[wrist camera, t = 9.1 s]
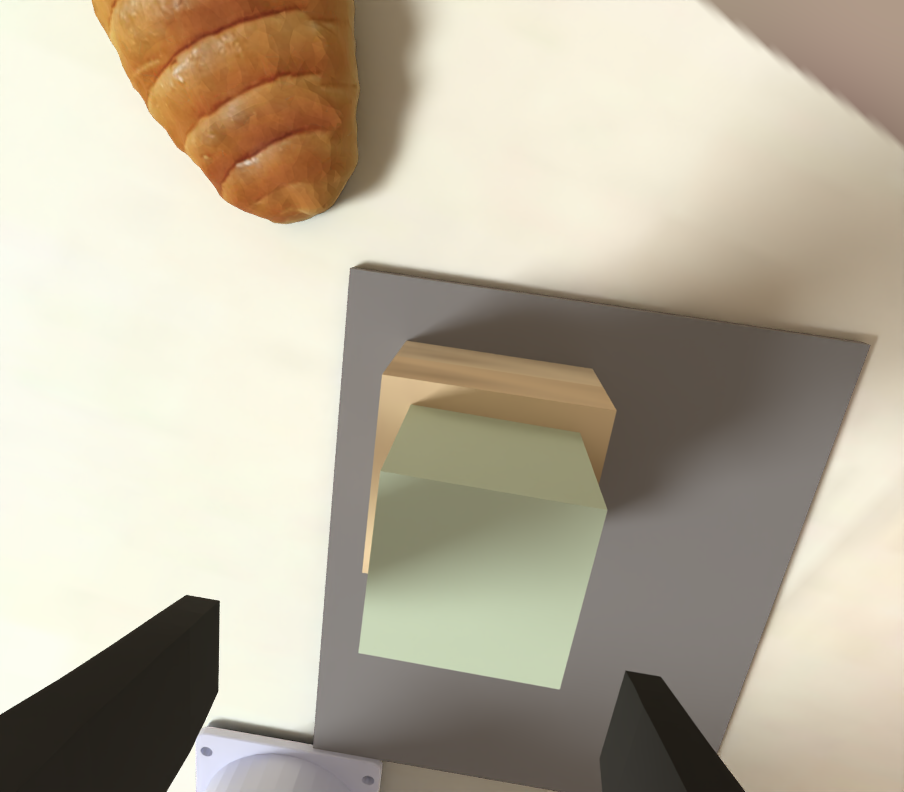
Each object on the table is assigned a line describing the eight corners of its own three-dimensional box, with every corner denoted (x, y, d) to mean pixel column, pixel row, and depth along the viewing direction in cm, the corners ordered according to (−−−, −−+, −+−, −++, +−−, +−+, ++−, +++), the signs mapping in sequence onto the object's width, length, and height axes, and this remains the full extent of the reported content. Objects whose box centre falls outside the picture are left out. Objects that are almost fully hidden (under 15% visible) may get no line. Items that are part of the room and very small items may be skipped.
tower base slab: (556, 532, 20) (562, 565, 18) (387, 504, 20) (376, 535, 18) (592, 368, 18) (603, 387, 16) (406, 340, 18) (395, 355, 17)
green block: (545, 576, 16) (559, 689, 12) (391, 549, 16) (358, 653, 12) (580, 432, 15) (607, 510, 11) (410, 404, 15) (380, 470, 11)
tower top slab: (562, 565, 18) (569, 606, 16) (376, 535, 18) (362, 572, 17) (603, 387, 16) (616, 410, 14) (395, 355, 17) (381, 374, 15)
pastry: (420, 183, 18) (398, 177, 14) (226, 251, 19) (159, 261, 15) (304, -181, 15) (241, -303, 11) (88, -75, 16) (-31, -156, 13)
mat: (690, 805, 24) (694, 815, 24) (315, 739, 25) (312, 748, 24) (862, 342, 18) (870, 345, 17) (353, 267, 18) (349, 268, 18)
